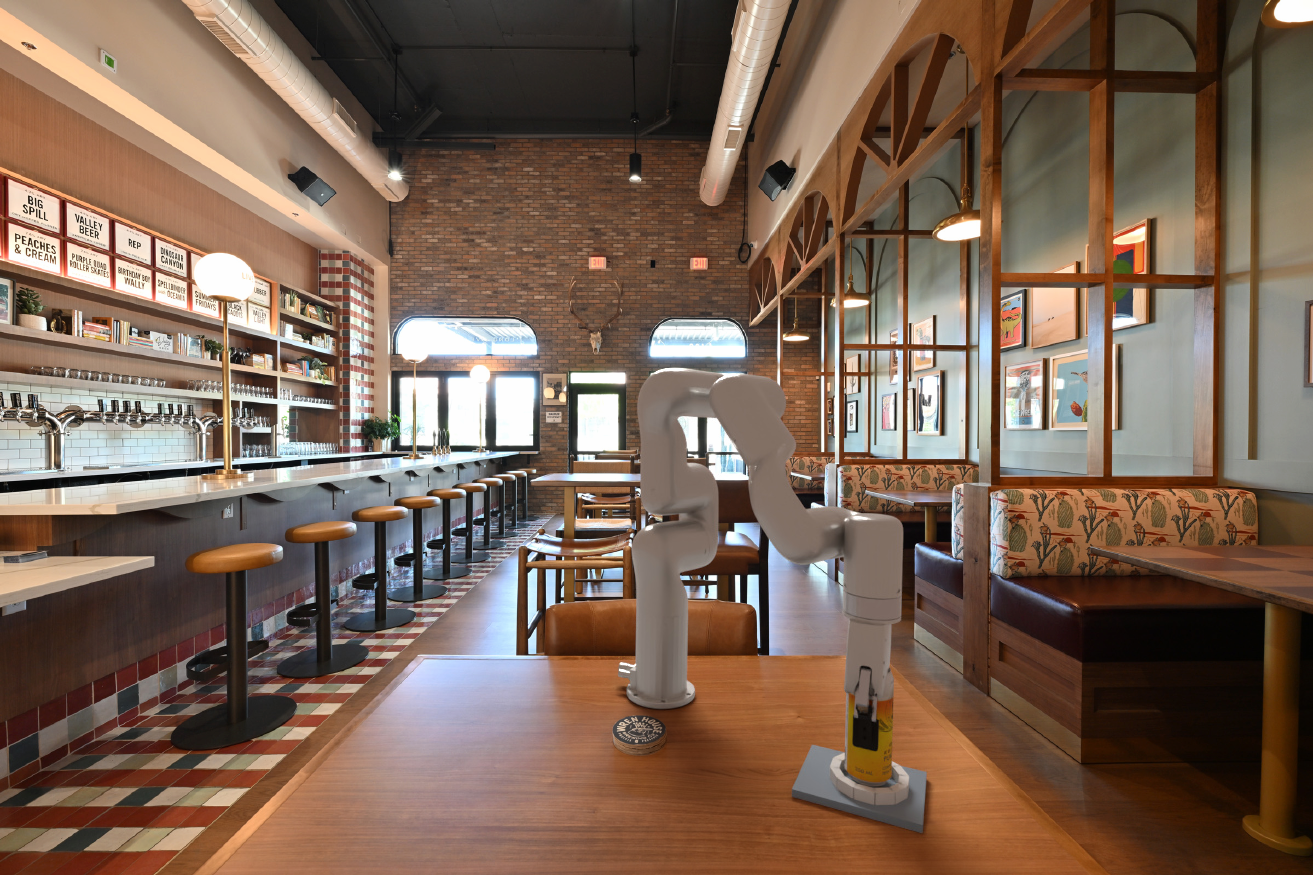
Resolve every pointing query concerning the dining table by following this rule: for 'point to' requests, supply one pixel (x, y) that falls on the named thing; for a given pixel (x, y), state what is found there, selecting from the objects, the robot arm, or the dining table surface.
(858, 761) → the beer can
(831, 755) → the base board
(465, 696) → the dining table surface
